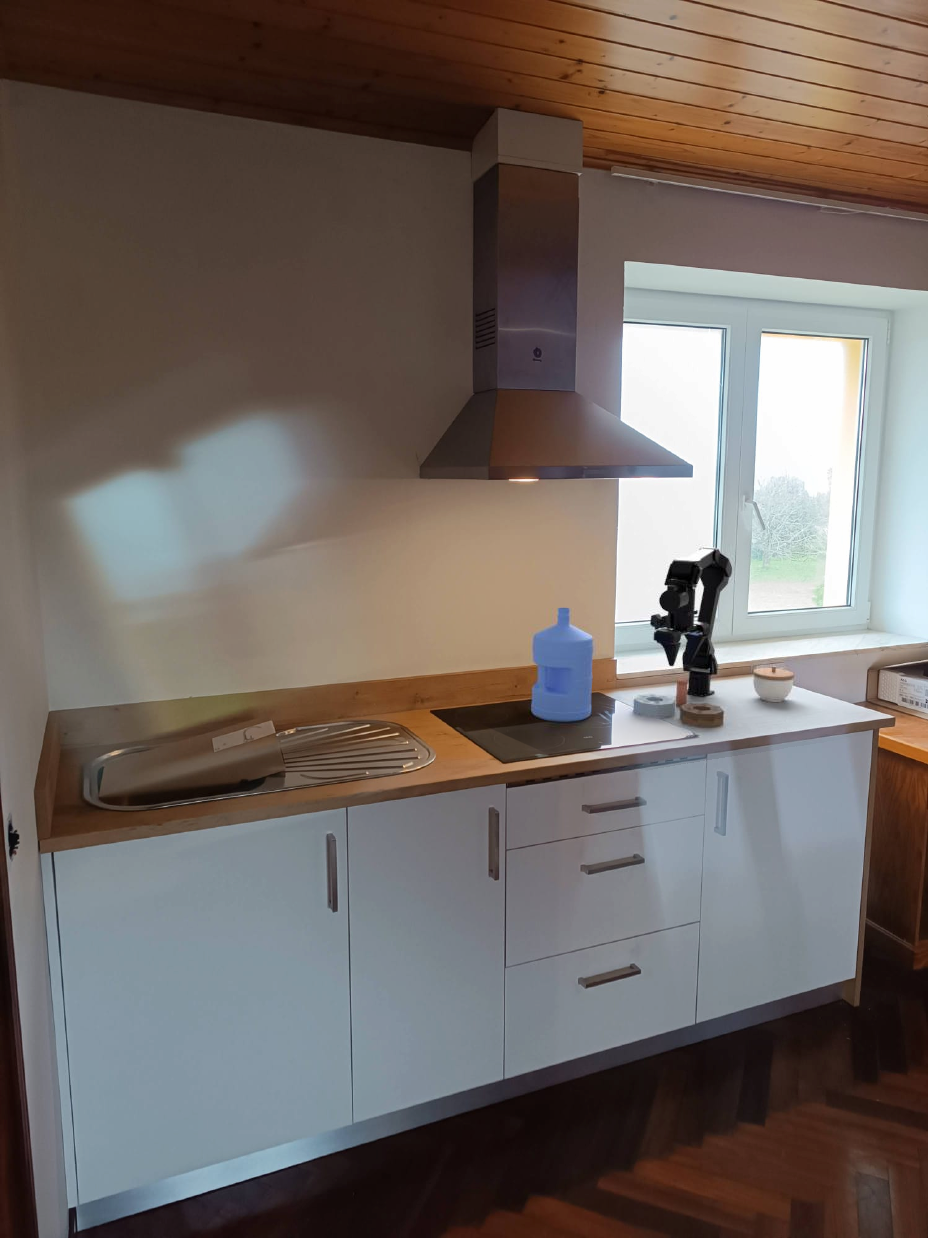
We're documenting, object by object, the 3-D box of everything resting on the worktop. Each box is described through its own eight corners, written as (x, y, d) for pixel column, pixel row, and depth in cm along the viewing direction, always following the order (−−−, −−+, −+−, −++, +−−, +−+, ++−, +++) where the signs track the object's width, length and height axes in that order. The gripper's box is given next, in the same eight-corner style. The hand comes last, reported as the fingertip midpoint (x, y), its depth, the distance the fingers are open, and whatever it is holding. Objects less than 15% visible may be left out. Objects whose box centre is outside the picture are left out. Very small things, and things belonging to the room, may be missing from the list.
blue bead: (640, 705, 233) (640, 692, 232) (677, 709, 228) (677, 697, 228) (630, 714, 224) (631, 701, 223) (668, 719, 220) (669, 706, 219)
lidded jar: (752, 702, 236) (754, 669, 235) (751, 692, 246) (753, 661, 245) (793, 705, 233) (796, 672, 232) (790, 695, 243) (793, 663, 242)
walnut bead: (695, 713, 225) (695, 700, 224) (729, 722, 218) (730, 708, 217) (673, 721, 218) (673, 707, 218) (707, 729, 211) (708, 716, 210)
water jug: (564, 702, 235) (567, 602, 230) (603, 716, 222) (607, 610, 217) (519, 711, 226) (521, 606, 221) (556, 726, 213) (559, 615, 208)
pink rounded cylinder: (679, 703, 235) (680, 678, 233) (688, 705, 233) (690, 680, 231) (673, 705, 233) (674, 680, 232) (682, 707, 231) (683, 682, 229)
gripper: (677, 598, 240) (674, 652, 243) (637, 606, 227) (635, 663, 230) (712, 603, 232) (709, 659, 235) (673, 612, 219) (671, 671, 222)
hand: (681, 663), depth 231 cm, fingers open, 9 cm apart
